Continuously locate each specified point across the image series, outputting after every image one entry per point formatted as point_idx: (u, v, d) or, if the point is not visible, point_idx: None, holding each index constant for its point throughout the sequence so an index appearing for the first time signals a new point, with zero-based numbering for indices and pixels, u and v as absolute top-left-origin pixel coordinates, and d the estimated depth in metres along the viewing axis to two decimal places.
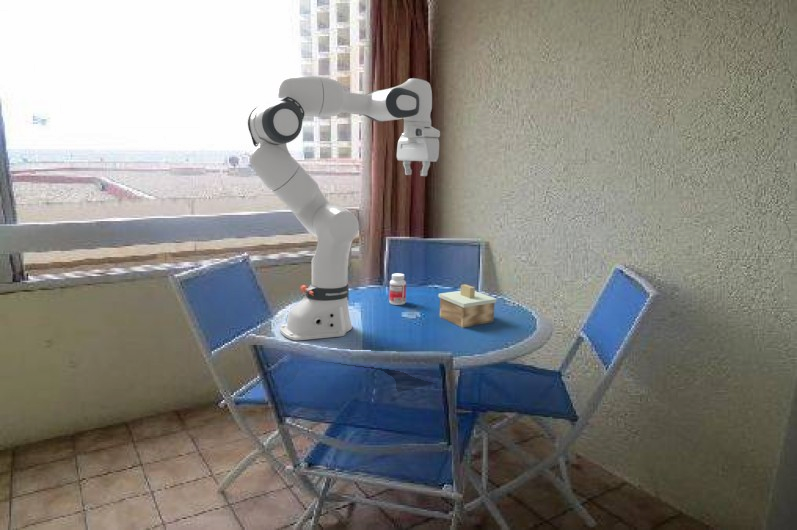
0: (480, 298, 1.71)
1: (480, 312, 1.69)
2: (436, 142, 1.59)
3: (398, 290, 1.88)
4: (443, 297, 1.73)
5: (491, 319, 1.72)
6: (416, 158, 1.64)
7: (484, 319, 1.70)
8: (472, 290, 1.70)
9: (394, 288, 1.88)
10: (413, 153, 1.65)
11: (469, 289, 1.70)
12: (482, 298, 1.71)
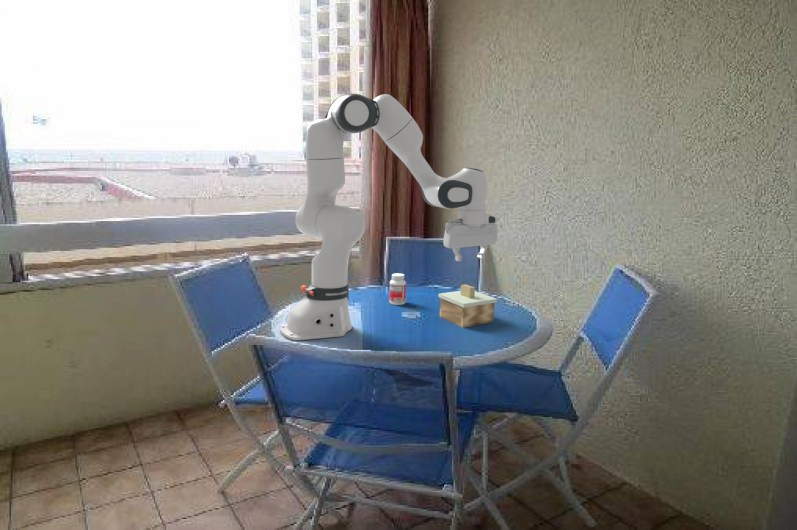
0: (480, 298, 1.71)
1: (480, 312, 1.69)
2: None
3: (398, 290, 1.88)
4: (443, 297, 1.73)
5: (491, 319, 1.72)
6: (480, 243, 1.69)
7: (484, 319, 1.70)
8: (472, 290, 1.70)
9: (394, 288, 1.88)
10: (477, 239, 1.68)
11: (469, 289, 1.70)
12: (482, 298, 1.71)
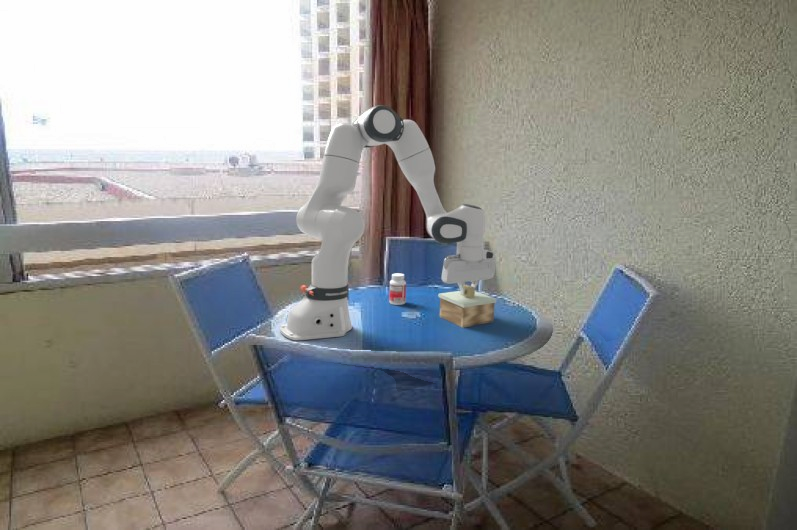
0: (479, 298, 1.71)
1: (480, 312, 1.69)
2: None
3: (398, 290, 1.88)
4: (443, 297, 1.73)
5: (491, 319, 1.72)
6: (478, 278, 1.72)
7: (484, 319, 1.70)
8: (472, 290, 1.70)
9: (394, 288, 1.88)
10: (474, 274, 1.71)
11: (469, 289, 1.70)
12: (482, 298, 1.71)
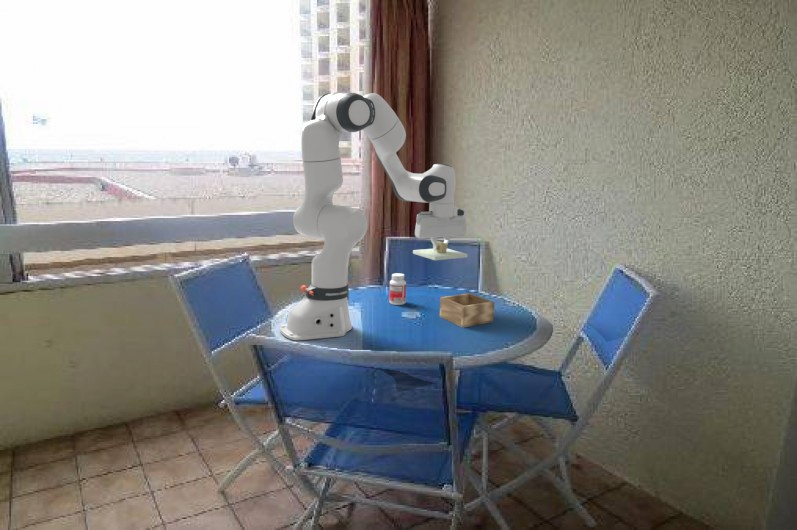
0: (451, 253, 1.81)
1: (480, 312, 1.69)
2: None
3: (398, 290, 1.88)
4: (417, 253, 1.83)
5: (491, 319, 1.72)
6: (450, 234, 1.82)
7: (484, 319, 1.70)
8: (444, 245, 1.80)
9: (394, 288, 1.88)
10: (446, 230, 1.81)
11: (441, 244, 1.80)
12: (453, 253, 1.80)
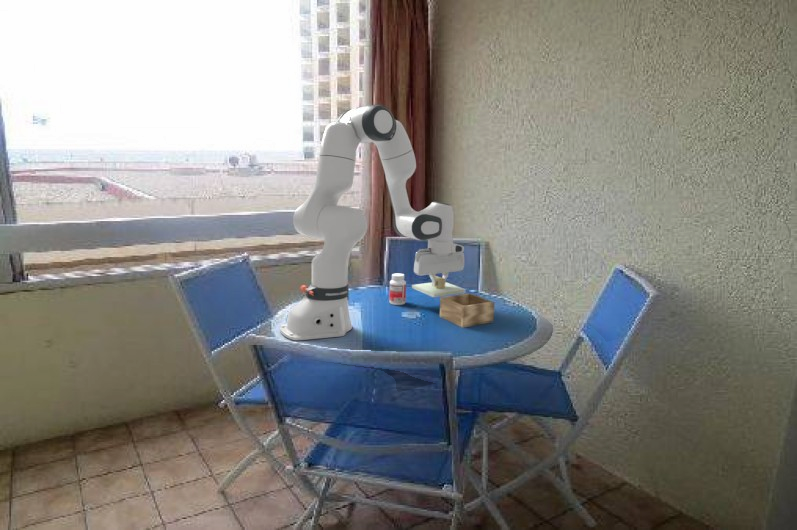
0: (449, 288, 1.84)
1: (480, 312, 1.69)
2: None
3: (398, 290, 1.88)
4: (416, 288, 1.86)
5: (491, 319, 1.72)
6: (448, 270, 1.84)
7: (484, 319, 1.70)
8: (442, 281, 1.83)
9: (394, 288, 1.88)
10: (445, 266, 1.83)
11: (439, 280, 1.83)
12: (452, 289, 1.83)
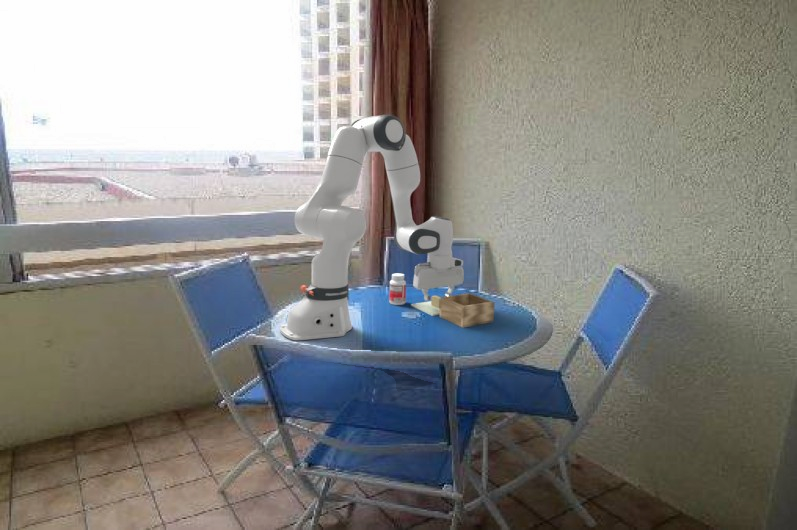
0: None
1: (480, 312, 1.69)
2: None
3: (398, 290, 1.88)
4: (415, 307, 1.87)
5: (491, 319, 1.72)
6: (447, 284, 1.85)
7: (484, 319, 1.70)
8: None
9: (394, 288, 1.88)
10: (444, 280, 1.84)
11: (438, 300, 1.84)
12: None
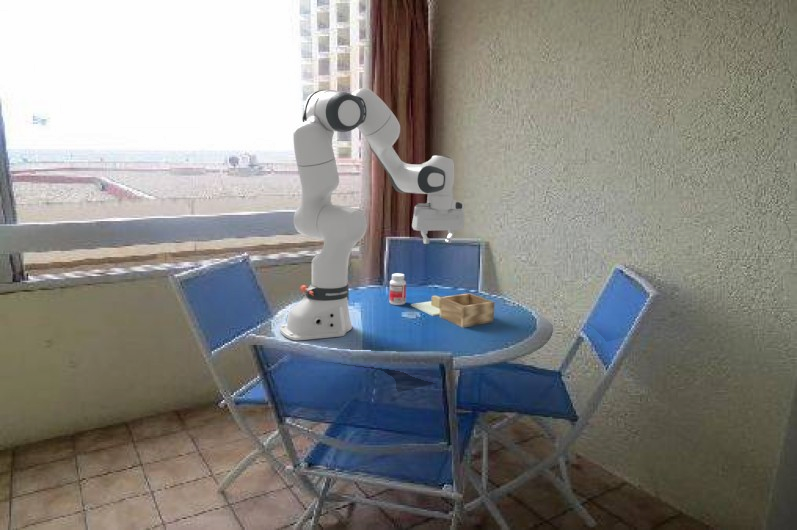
0: None
1: (480, 312, 1.69)
2: None
3: (398, 290, 1.88)
4: (415, 307, 1.87)
5: (491, 319, 1.72)
6: (447, 228, 1.79)
7: (484, 319, 1.70)
8: None
9: (394, 288, 1.88)
10: (444, 223, 1.77)
11: (438, 300, 1.84)
12: None
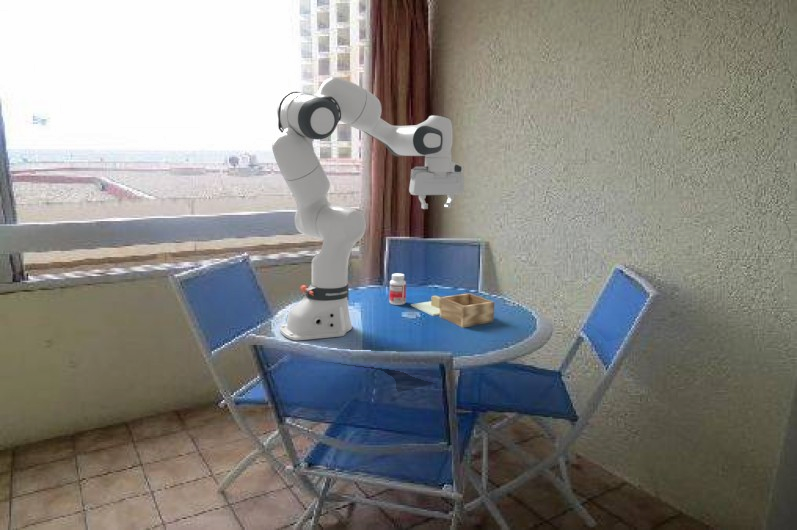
0: None
1: (480, 312, 1.69)
2: None
3: (398, 290, 1.88)
4: (415, 307, 1.87)
5: (491, 319, 1.72)
6: (446, 192, 1.71)
7: (484, 319, 1.70)
8: None
9: (394, 288, 1.88)
10: (443, 188, 1.70)
11: (438, 300, 1.84)
12: None
